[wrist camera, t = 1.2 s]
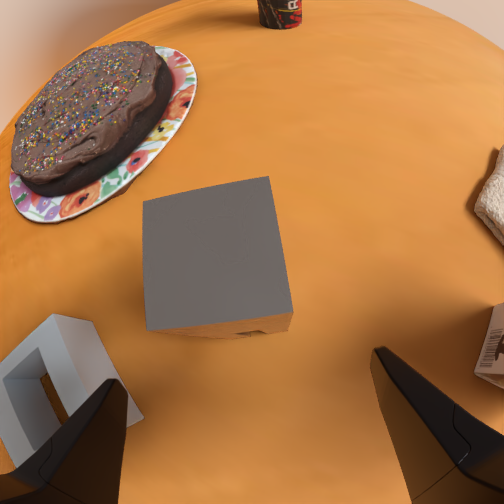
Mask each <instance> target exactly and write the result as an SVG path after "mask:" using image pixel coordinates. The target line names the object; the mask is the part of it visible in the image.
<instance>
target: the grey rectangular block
mask: <svg viewBox="0 0 504 504" xmlns="http://www.w3.org/2000/svg"><path fill="white" fill-rule="evenodd" d="M143 282H144V301H145V316H146V329H147V331H152V332H160V333H169V334H178V335H187V336H198V337H209V338H222V339H236V338H243V337H250V331H256V330H260V331H262V332H264V333H266V334H271V333H278V332H284V331H288V328H289V325H290V322H291V318H292V315H293V307H292V301H291V295H290V289H289V283H288V277H287V271H286V265H285V260H284V254H283V249H282V243H281V238H280V232H279V227H278V221H277V216H276V211H275V206H274V200H273V195H272V190H271V185H270V180H269V176H266V177H260V178H254V179H248V180H242V181H237V182H232V183H226V184H221V185H216V186H211V187H206V188H201V189H196V190H191V191H187V192H182V193H178V194H173V195H169V196H164V197H160V198H156V199H152V200H148V201H143Z"/></svg>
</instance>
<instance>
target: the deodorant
mask: <svg viewBox="0 0 504 504" xmlns="http://www.w3.org/2000/svg"><path fill="white" fill-rule="evenodd" d="M257 2H258V9H259V17H260V23H261V25H263V26H264V27H267V28H271V29H291V28H294V27H297V26H299V25H300V24H301V23H302V3H301V0H257Z"/></svg>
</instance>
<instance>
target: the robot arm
mask: <svg viewBox="0 0 504 504" xmlns="http://www.w3.org/2000/svg"><path fill="white" fill-rule="evenodd" d="M370 369H371V373H372V377H373V381H374V385H375V389H376V393H377V397H378V401H379V405H380V409H381V412H382V414H383V417H384V420H385V423H386V425H387V428H388V431H389V434H390V437H391V440H392V442H393V445H394V448H395V451H396V454H397V457H398V460H399V463H400V466H401V469H402V472H403V476H404V479H405V482H406V485H407V489H408V492H409V495H410V499H411V501H412V504H504V435H502V434H500V433H499V432H497V431H496V430H494V429H492V428H491V427H489V426H487V425H486V424H484V423H483V422H481V421H480V420H478V419H477V418H475V417H474V416H472V415H471V414H470V413H468V412H467V411H466V410H464V409H463V408H462V407H461V406H459V405H458V404H457V403H455V402H454V401H453V400H452V399H451V398H449V397H448V396H447V395H446V394H444V393H443V392H442V391H441V390H439V389H438V388H437V387H436V386H434V385H433V384H432V383H431V382H429V381H428V380H427V379H426V378H424V377H423V376H422V375H421V374H419V373H418V372H417V371H416V370H415V369H413V368H412V367H411V366H410V365H408V364H407V363H406V362H405V361H403V360H402V359H401V358H400V357H398V356H397V355H396V354H394V353H393V352H392V351H391V350H389V349H388V348H387V347H386V346H380V347H376V348H374V349H373V350H372V355H371V362H370ZM454 403H455V404H454ZM127 410H128V392H127V390H126V389H125V388H124V386H123V385H122V384H121V382H120V381H119V380H118V379H117V378H108V379H106V380H105V381H104V382H103V383H102V384H101V385H100V386H99V387H98V388H97V389H96V390H95V391H94V392H93V393H92V394H91V395H90V396H89V397H88V398H87V400H86V401H85V402H84V403H83V404H82V405H81V406H80V407H79V408H78V409H77V410H76V411H75V412H74V413H73V414H72V415H71V416H70V417H69V418H68V419H67V420H66V421H65V422H64V423H63V424H62V425H61V426H60V428H59V429H58V430H57V431H56V432H55V433H54V434H53V435H52V437H50V438H49V439H48V440H47V441H46V442H45V443H44V444H43V445H42V446H41V447H40V448H39V449H38V450H37V451H36V452H35V453H34V454H33V455H31V456H30V457H29V458H28V459H27V460H26V461H25V462H23V463H22V464H21V465H20V466H19V467H18V468H16V469H15V470H14V471H12V472H10V473H7V474H2V475H0V504H118V497H119V486H120V476H121V467H122V459H123V452H124V444H125V437H126V429H127Z"/></svg>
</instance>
